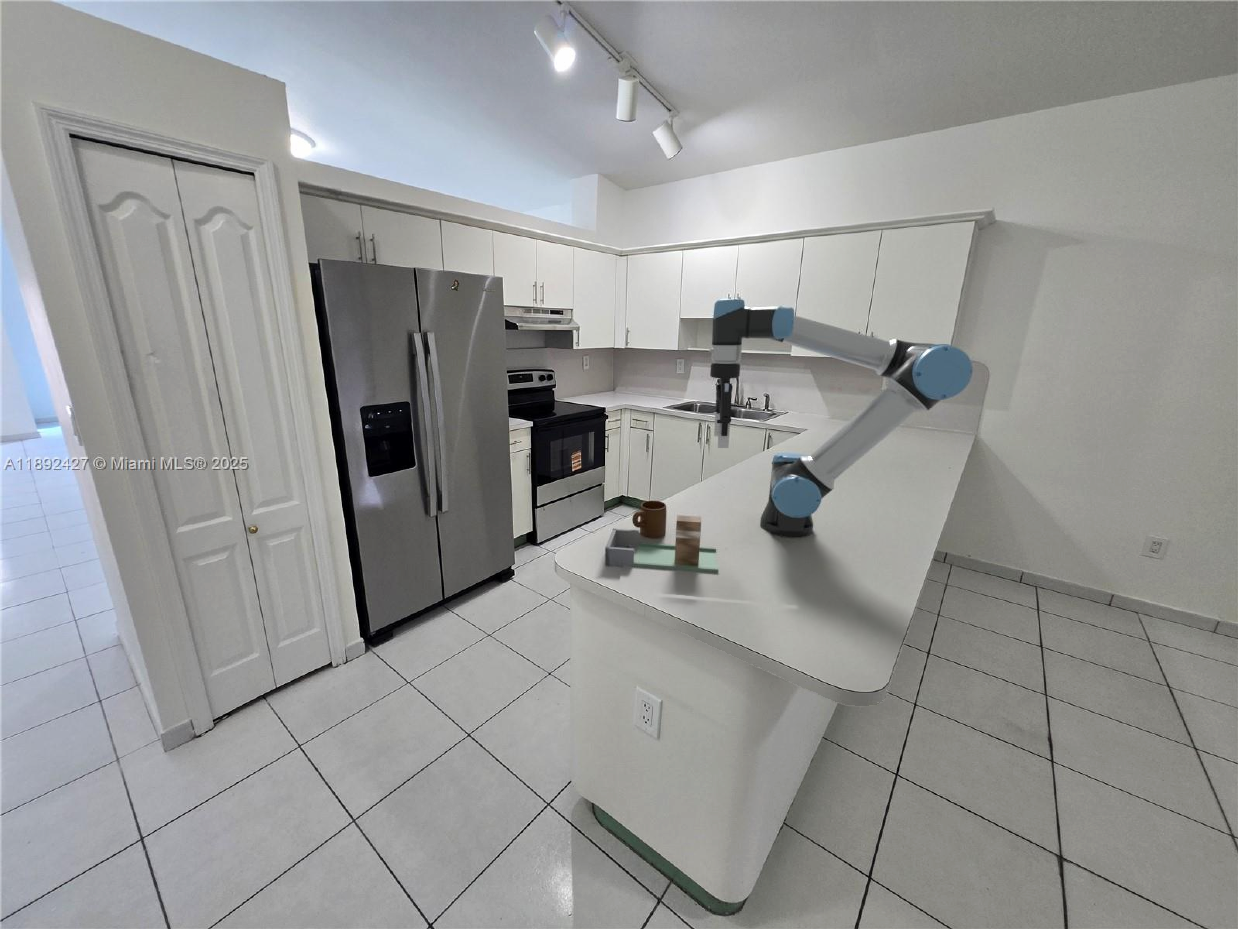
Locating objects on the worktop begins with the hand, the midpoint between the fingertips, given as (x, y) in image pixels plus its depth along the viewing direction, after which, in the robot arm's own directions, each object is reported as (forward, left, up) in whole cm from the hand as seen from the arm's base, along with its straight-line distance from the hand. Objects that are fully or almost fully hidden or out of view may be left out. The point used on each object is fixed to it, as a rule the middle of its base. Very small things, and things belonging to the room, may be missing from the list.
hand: (720, 441), depth 126 cm
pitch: (+14, +16, -29) cm, 35 cm away
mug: (+19, +3, -29) cm, 35 cm away
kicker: (+8, +17, -28) cm, 34 cm away
